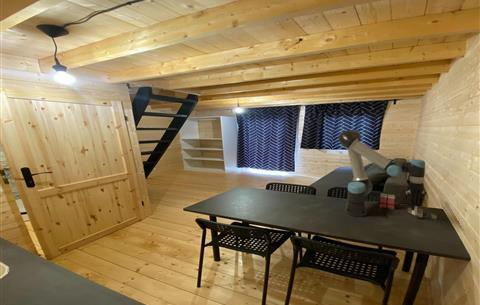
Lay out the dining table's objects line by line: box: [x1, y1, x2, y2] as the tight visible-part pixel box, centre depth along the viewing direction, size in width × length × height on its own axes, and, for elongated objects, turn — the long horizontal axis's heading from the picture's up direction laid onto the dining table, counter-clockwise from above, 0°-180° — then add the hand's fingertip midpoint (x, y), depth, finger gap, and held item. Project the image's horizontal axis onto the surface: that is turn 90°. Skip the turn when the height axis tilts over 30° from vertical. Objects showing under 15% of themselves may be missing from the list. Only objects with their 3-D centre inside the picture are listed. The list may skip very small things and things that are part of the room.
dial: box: [406, 207, 424, 219], centre depth 152 cm, size 14×9×6 cm, turn 160°
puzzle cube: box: [378, 192, 396, 210], centre depth 168 cm, size 10×10×10 cm
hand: (414, 214), depth 147 cm, fingers closed
